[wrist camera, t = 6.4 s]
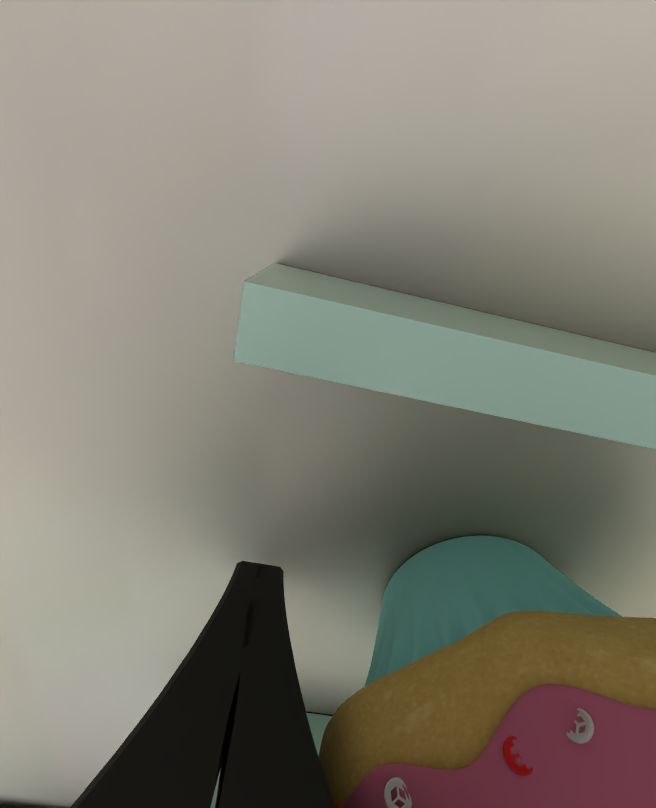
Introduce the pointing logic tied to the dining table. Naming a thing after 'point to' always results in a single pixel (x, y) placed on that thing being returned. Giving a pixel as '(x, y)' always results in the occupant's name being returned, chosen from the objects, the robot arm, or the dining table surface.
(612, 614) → the cupcake
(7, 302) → the dining table surface
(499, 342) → the mint green u shape
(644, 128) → the dining table surface
